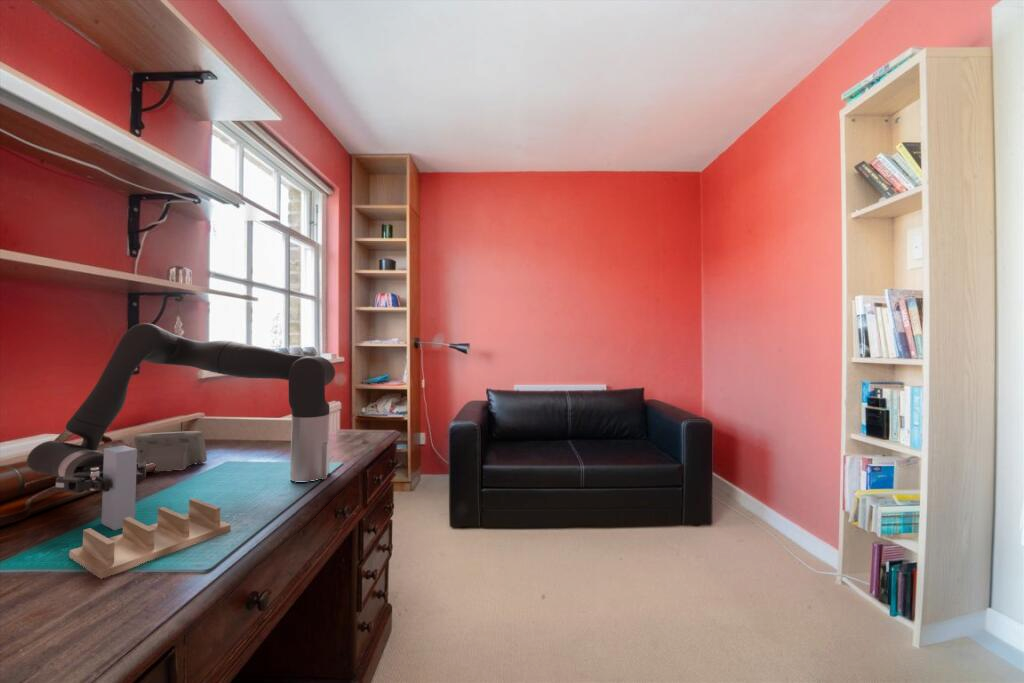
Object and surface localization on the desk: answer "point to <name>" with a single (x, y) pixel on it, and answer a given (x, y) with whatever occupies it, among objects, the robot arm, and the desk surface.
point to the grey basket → (171, 449)
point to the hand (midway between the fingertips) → (123, 482)
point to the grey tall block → (119, 485)
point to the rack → (148, 539)
